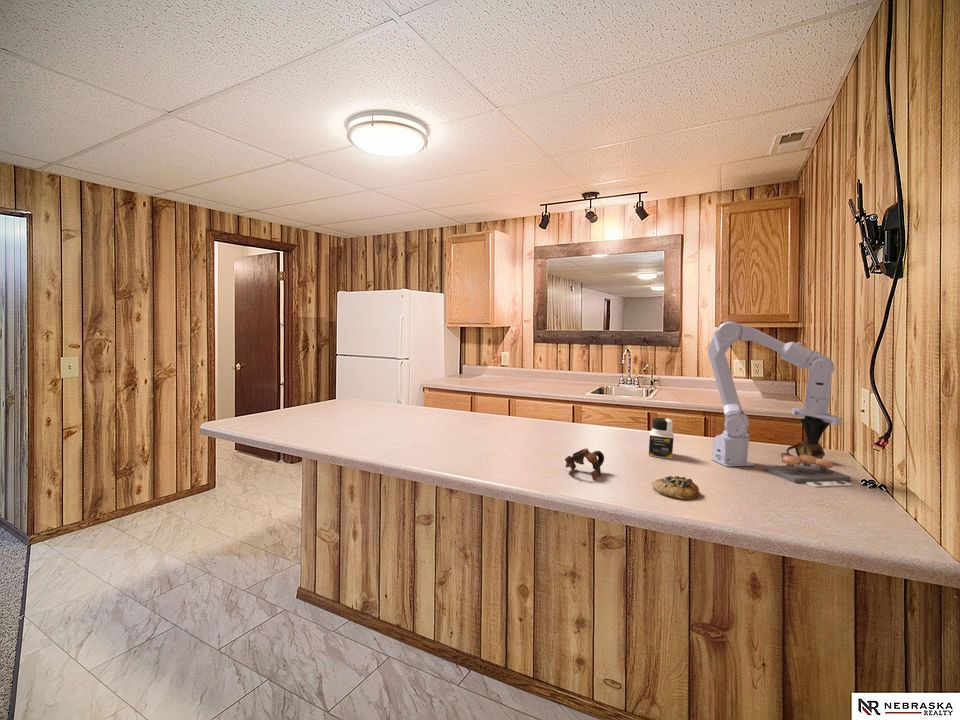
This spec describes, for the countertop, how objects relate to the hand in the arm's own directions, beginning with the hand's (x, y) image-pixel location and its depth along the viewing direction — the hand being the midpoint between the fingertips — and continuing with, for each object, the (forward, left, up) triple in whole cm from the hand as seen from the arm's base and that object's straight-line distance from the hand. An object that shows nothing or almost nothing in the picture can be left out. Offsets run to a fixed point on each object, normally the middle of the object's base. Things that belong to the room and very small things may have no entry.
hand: (812, 443), depth 138 cm
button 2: (+4, 0, -8) cm, 9 cm away
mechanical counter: (+9, +13, -10) cm, 19 cm away
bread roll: (-48, -9, -10) cm, 50 cm away
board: (-1, 0, -9) cm, 9 cm away
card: (-1, -8, -9) cm, 12 cm away
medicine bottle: (-34, +23, -10) cm, 42 cm away
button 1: (-7, 0, -6) cm, 9 cm away
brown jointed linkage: (-66, +7, -10) cm, 67 cm away
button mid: (-1, 0, -6) cm, 7 cm away
